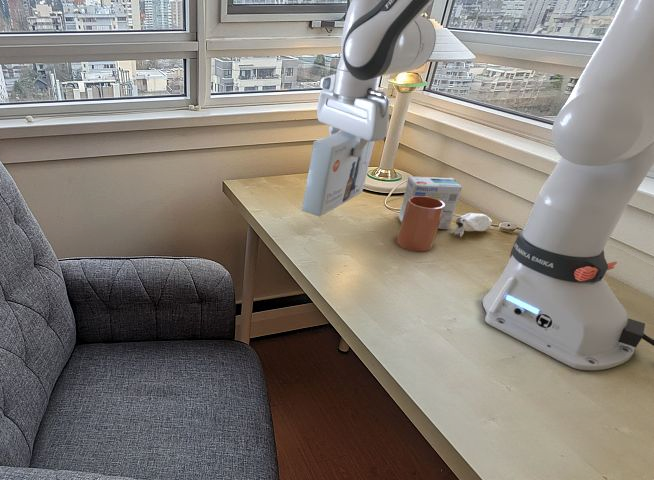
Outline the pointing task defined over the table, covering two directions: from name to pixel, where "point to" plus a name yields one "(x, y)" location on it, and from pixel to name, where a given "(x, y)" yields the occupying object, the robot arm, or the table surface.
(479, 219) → the bird figurine
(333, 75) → the robot arm
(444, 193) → the light bulb box
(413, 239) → the pen cup
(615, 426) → the table surface
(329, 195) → the skincare box
